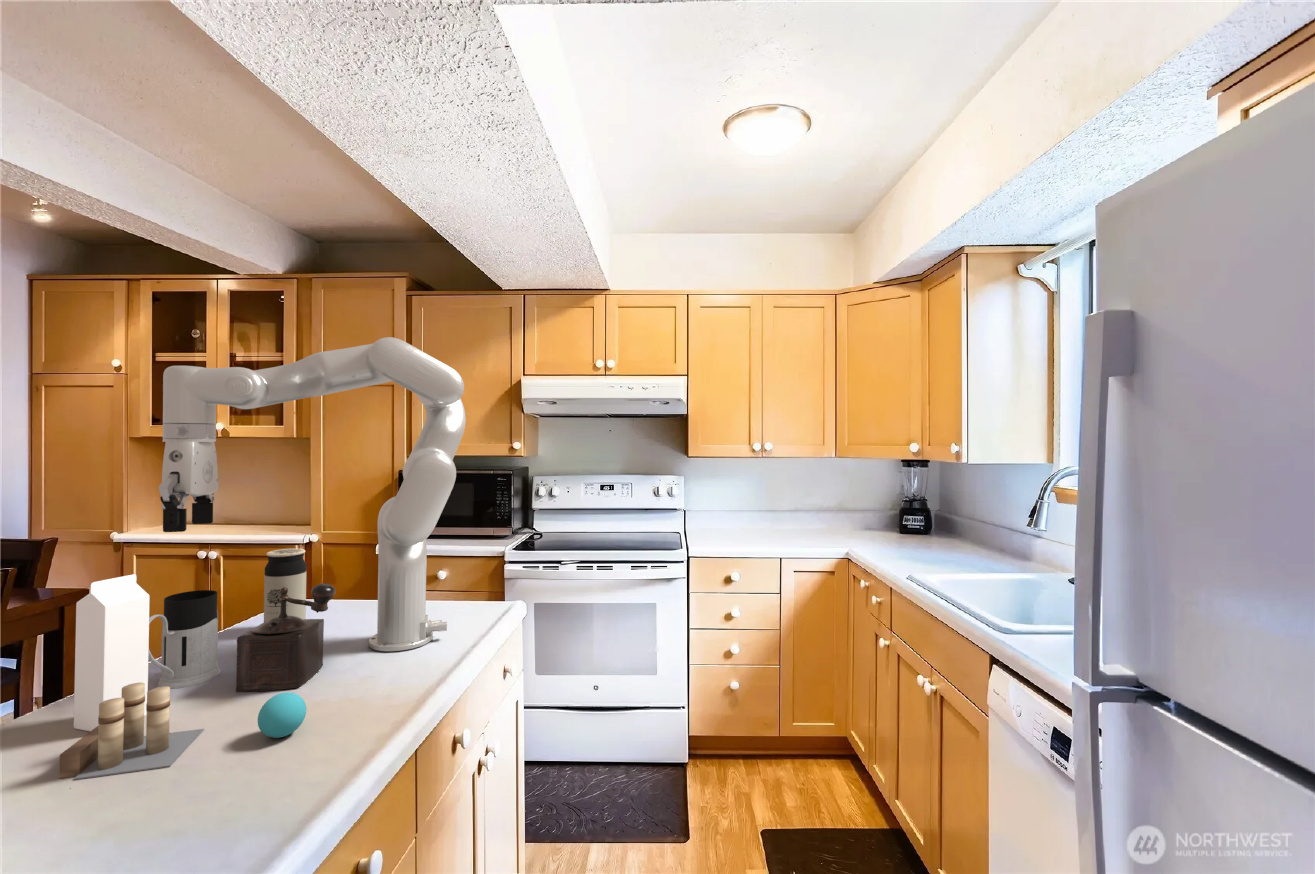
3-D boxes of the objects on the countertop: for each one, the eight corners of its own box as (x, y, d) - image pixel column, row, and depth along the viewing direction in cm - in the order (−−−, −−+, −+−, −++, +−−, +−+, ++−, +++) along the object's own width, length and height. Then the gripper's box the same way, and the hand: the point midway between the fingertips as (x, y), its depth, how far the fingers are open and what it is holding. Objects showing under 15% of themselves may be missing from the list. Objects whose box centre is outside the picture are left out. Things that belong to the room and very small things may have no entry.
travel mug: (283, 624, 133) (284, 547, 133) (313, 625, 132) (314, 548, 132) (254, 635, 125) (255, 554, 125) (286, 637, 124) (288, 555, 124)
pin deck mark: (203, 729, 84) (203, 728, 84) (169, 766, 75) (169, 765, 75) (120, 740, 81) (120, 738, 81) (73, 779, 72) (73, 778, 72)
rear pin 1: (127, 759, 76) (128, 696, 76) (116, 769, 74) (117, 704, 74) (104, 762, 76) (105, 698, 76) (92, 772, 73) (93, 707, 73)
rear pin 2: (147, 740, 81) (149, 681, 81) (138, 749, 79) (139, 688, 79) (126, 743, 80) (127, 683, 80) (115, 752, 78) (117, 690, 78)
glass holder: (231, 668, 107) (233, 589, 107) (169, 702, 93) (171, 611, 93) (184, 668, 107) (185, 589, 107) (114, 703, 92) (116, 611, 93)
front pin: (172, 745, 80) (174, 685, 80) (163, 754, 78) (164, 692, 78) (151, 748, 79) (152, 687, 79) (141, 757, 77) (142, 694, 77)
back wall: (120, 740, 81) (121, 719, 81) (79, 775, 73) (79, 752, 73) (103, 742, 81) (103, 721, 81) (59, 778, 72) (59, 754, 72)
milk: (73, 729, 84) (74, 581, 84) (120, 710, 90) (121, 572, 90) (102, 734, 83) (104, 584, 83) (149, 714, 89) (150, 574, 89)
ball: (310, 722, 87) (311, 683, 87) (299, 742, 81) (300, 700, 81) (265, 728, 85) (266, 688, 85) (250, 748, 79) (251, 706, 79)
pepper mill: (230, 694, 96) (232, 588, 96) (265, 668, 107) (267, 573, 107) (328, 689, 98) (330, 586, 99) (352, 664, 109) (354, 571, 110)
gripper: (189, 433, 96) (189, 534, 96) (234, 434, 113) (234, 520, 112) (136, 433, 94) (135, 536, 94) (189, 434, 110) (189, 521, 110)
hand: (189, 527), depth 103 cm, fingers open, 9 cm apart
